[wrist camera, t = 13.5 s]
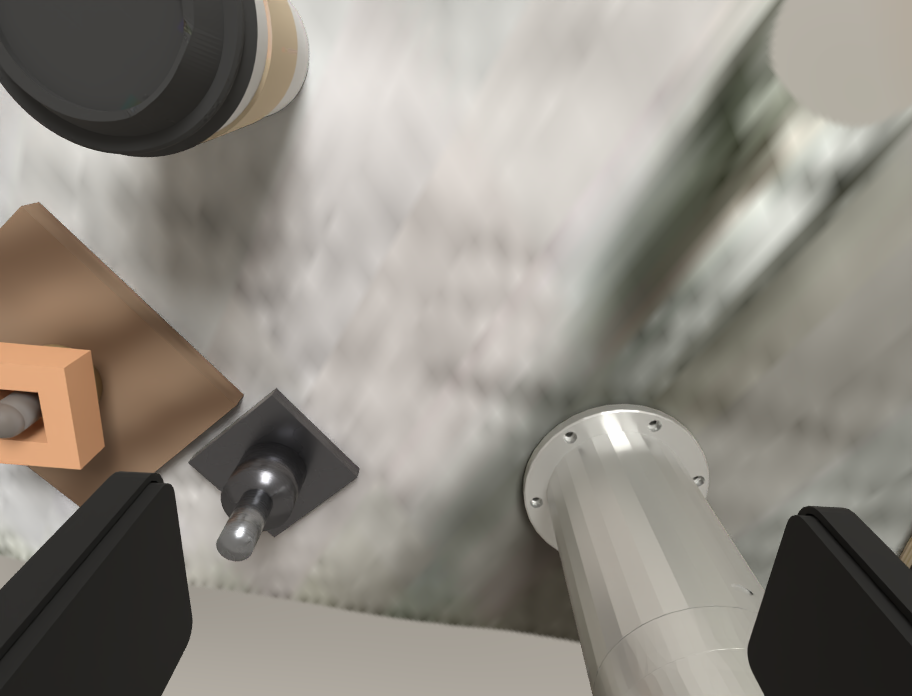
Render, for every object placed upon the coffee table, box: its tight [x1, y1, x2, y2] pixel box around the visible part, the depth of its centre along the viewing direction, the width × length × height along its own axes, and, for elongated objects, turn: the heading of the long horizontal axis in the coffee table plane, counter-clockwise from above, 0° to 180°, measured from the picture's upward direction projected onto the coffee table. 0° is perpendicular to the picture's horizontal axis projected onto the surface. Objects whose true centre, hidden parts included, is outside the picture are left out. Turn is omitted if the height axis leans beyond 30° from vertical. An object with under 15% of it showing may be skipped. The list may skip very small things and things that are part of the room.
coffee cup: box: [0, 0, 309, 157], centre depth 24 cm, size 9×9×15 cm
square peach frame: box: [0, 342, 105, 470], centre depth 33 cm, size 6×6×2 cm
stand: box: [188, 388, 359, 561], centre depth 37 cm, size 8×8×8 cm
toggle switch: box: [0, 202, 243, 507], centre depth 34 cm, size 16×14×8 cm
